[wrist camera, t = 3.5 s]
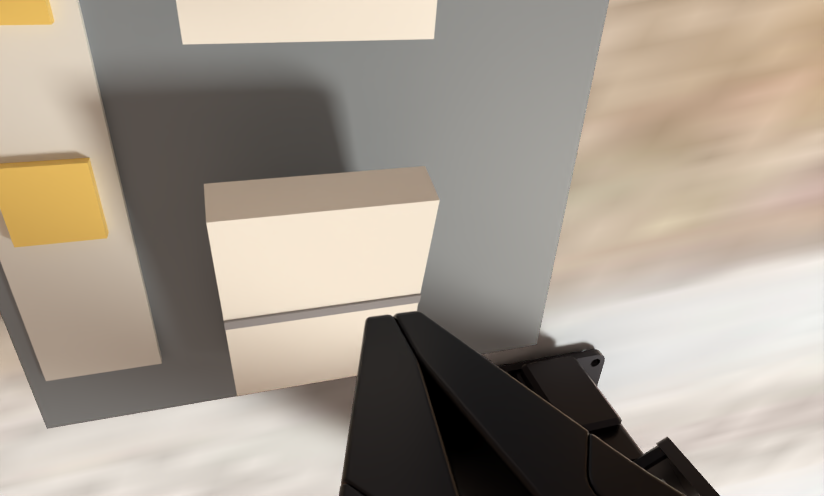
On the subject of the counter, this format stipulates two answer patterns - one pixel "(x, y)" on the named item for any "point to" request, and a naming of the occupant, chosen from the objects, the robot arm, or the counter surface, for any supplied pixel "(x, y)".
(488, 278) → the console
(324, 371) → the block
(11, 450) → the counter surface
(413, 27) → the panel
